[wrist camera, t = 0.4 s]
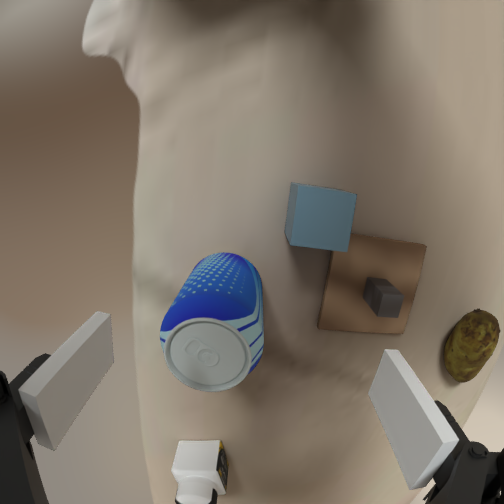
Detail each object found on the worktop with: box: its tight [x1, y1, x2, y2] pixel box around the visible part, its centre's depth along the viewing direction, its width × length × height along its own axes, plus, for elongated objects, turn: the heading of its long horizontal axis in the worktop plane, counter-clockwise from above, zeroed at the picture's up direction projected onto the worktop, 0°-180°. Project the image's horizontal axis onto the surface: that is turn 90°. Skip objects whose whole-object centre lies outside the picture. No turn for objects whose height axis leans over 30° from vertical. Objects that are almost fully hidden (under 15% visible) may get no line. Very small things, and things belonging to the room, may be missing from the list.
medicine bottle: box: [171, 440, 229, 504], centre depth 40 cm, size 7×7×12 cm
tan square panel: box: [317, 234, 427, 334], centre depth 35 cm, size 12×12×6 cm
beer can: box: [160, 253, 264, 392], centre depth 30 cm, size 8×8×16 cm
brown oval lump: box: [444, 309, 500, 382], centre depth 36 cm, size 8×13×8 cm, turn 175°
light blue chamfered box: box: [285, 182, 357, 252], centre depth 33 cm, size 6×6×7 cm
